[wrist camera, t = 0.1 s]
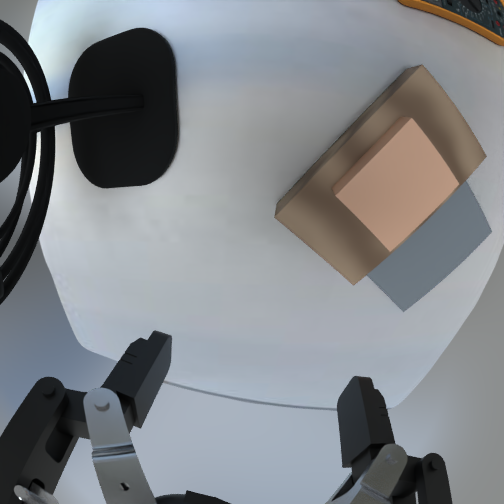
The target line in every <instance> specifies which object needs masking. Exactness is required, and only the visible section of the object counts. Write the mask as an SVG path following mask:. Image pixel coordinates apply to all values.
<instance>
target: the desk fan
mask: <svg viewBox="0 0 504 504" xmlns="http://www.w3.org/2000/svg"><path fill="white" fill-rule="evenodd" d="M0 43H1V44H3V45H4V46H5V47H6V48H8V49H9V50H10V51H11V52H12V53H13V54H14V56H16V58H17V59H18V61H19V62H20V63H21V65H22V66H23V68H24V70H25V72H26V74H27V76H28V78H29V80H30V83H31V85H32V88H33V91H34V94H35V98H36V102H37V103H33V100H32V97H31V93H30V90H29V88H28V85H27V83H26V81H25V79H24V77H23V75H22V74H21V72H20V70H19V69H18V68H17V66H16V65H15V64H14V63H13V62H12V61H11V60H10V59H9V58H8V57H7V56H6V55H4V54H3V53H1V52H0V182H2V181H3V180H4V179H5V178H6V177H8V175H9V174H10V173H11V172H12V171H13V170H14V169H15V167H16V166H17V164H18V163H19V161H20V159H21V157H22V161H21V162H22V163H21V174H20V181H19V187H18V192H17V197H16V201H15V204H14V206H13V208H12V210H11V212H10V214H9V215H8V217H7V219H6V220H5V222H4V223H3V225H2V226H1V227H0V239H1V240H0V257H1V256H2V254H3V252H4V251H5V249H6V247H7V245H8V243H9V241H10V239H11V237H12V235H13V232H14V230H15V227H16V225H17V222H18V219H19V216H20V213H21V210H22V206H23V202H24V199H25V196H26V193H27V191H28V188H29V184H30V181H31V177H32V173H33V168H34V162H35V155H36V142H37V132H40V131H41V155H40V167H39V175H38V181H37V186H36V191H35V195H34V199H33V202H32V206H31V209H30V212H29V215H28V218H27V221H26V223H25V226H24V228H23V230H22V233H21V235H20V237H19V239H18V241H17V243H16V245H15V246H14V248H13V250H12V251H11V253H10V255H9V256H8V258H7V259H6V261H5V262H4V263H3V265H2V266H1V267H0V304H1V303H2V302H3V301H4V300H5V299H6V297H7V296H8V295H9V294H10V292H11V291H12V289H13V288H14V286H15V285H16V283H17V282H18V280H19V279H20V277H21V275H22V274H23V272H24V270H25V268H26V266H27V264H28V262H29V260H30V258H31V256H32V253H33V251H34V249H35V247H36V244H37V241H38V239H39V236H40V233H41V230H42V227H43V224H44V220H45V217H46V213H47V209H48V205H49V200H50V195H51V189H52V183H53V175H54V164H55V126H56V125H59V124H63V123H68V122H70V127H71V137H72V145H73V151H74V155H75V158H76V161H77V164H78V166H79V168H80V170H81V172H82V173H83V174H84V176H85V177H86V178H87V179H88V180H89V181H90V182H91V183H92V184H94V185H95V186H98V187H100V188H117V187H130V186H142V185H147V184H150V183H152V182H153V181H155V180H157V179H158V178H159V177H161V176H162V175H163V174H164V172H165V171H166V170H167V168H168V167H169V165H170V163H171V161H172V159H173V156H174V153H175V149H176V144H177V135H178V126H177V110H176V90H175V66H174V59H173V54H172V51H171V49H170V47H169V45H168V43H167V42H166V40H165V39H164V38H163V37H162V36H161V35H160V34H158V33H157V32H155V31H153V30H150V29H147V28H135V29H131V30H128V31H125V32H122V33H120V34H117V35H114V36H112V37H109V38H107V39H104V40H102V41H99V42H97V43H95V44H93V45H91V46H90V47H89V48H87V49H86V50H85V51H84V52H83V54H82V55H81V56H80V58H79V59H78V61H77V63H76V64H75V67H74V69H73V71H72V74H71V78H70V83H69V91H68V98H66V99H58V100H51V97H50V92H49V88H48V85H47V82H46V78H45V76H44V73H43V70H42V68H41V65H40V63H39V61H38V59H37V57H36V55H35V54H34V52H33V50H32V49H31V47H30V46H29V44H28V43H27V42H26V40H25V39H24V38H23V37H22V36H21V35H20V34H19V33H18V32H17V31H16V30H14V28H12V27H11V26H10V25H8V24H7V23H5V22H4V21H2V20H0ZM10 271H11V272H10ZM8 274H9V275H8ZM7 275H8V276H7ZM6 276H7V278H6ZM5 278H6V279H5ZM4 279H5V281H4V282H3V280H4Z"/></svg>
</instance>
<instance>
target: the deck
mask: <svg viewBox="0 0 504 504" xmlns="http://www.w3.org/2000/svg"><path fill="white" fill-rule="evenodd" d="M400 117H410V118H412V119H413V120H414V121H415V122H416V123H417V125H418V126H419V127H420V128H421V130H422V131H423V132H424V133H425V135H426V136H427V137H428V139H429V140H430V141H431V143H432V144H433V145H434V147H435V148H436V150H437V151H438V152H439V154H440V155H441V157H442V158H443V160H444V161H445V162H446V164H447V165H448V167H449V168H450V170H451V172H452V173H453V175H454V176H455V178H456V179H457V181H458V183H459V185H458V186H457V187H456V188H455V189H454V191H453V192H452V193H451V194H450V195H449V196H448V197H447V198H446V199H445V200H444V201H443V202H442V203H441V204H440V205H439V206H438V207H437V208H436V209H435V210H434V211H433V212H432V213H431V214H430V215H429V216H428V217H427V218H426V219H425V220H424V221H423V222H422V223H421V224H420V225H419V226H418V227H417V228H416V229H415V230H413V231H412V232H411V233H410V234H409V235H408V236H407V237H406V238H405V239H404V240H403V241H402V242H401V243H399V244H398V245H397V246H396V247H395V248H394V249H393V250H392V251H391V252H390V251H389V250H388V249H387V248H386V247H385V246H384V245H383V244H382V243H381V242H380V240H379V239H378V238H377V237H376V236H375V235H374V234H373V233H372V232H371V231H370V230H369V229H368V228H367V227H366V226H365V225H364V224H363V223H362V222H361V221H360V220H359V219H358V218H357V217H356V216H355V215H354V213H352V212H351V211H350V210H349V209H348V208H347V207H346V206H345V205H344V204H343V203H342V202H341V201H340V200H339V199H338V198H337V197H336V196H335V194H334V192H333V190H332V187H333V186H334V185H335V184H336V183H337V182H338V181H339V180H340V179H341V178H342V177H343V176H344V175H345V174H346V173H347V172H348V171H349V170H350V169H351V168H352V167H353V166H354V165H355V164H356V163H357V162H358V160H359V159H360V158H361V157H362V156H363V155H364V154H365V153H366V152H367V151H368V150H369V149H370V148H371V147H372V146H373V145H374V144H375V143H376V142H377V141H378V140H379V139H380V138H381V137H382V136H383V135H384V134H385V133H386V132H387V131H388V130H389V129H390V128H391V127H392V126H393V125H394V124H395V122H396V121H397V120H398V119H399V118H400ZM486 157H487V156H486V154H485V153H484V151H483V149H482V147H481V145H480V144H479V142H478V140H477V138H476V137H475V135H474V133H473V132H472V130H471V129H470V127H469V125H468V124H467V122H466V121H465V119H464V118H463V116H462V115H461V113H460V112H459V110H458V109H457V107H456V106H455V105H454V103H453V102H452V100H451V99H450V98H449V96H448V95H447V94H446V92H445V91H444V90H443V88H442V87H441V86H440V85H439V83H438V82H437V81H436V80H435V79H434V77H433V76H432V75H431V74H430V73H429V71H428V70H427V69H426V68H425V67H424V66H423V65H418V66H415V67H411V68H408V69H406V70H405V71H404V72H403V73H402V74H401V75H400V76H399V77H398V78H397V79H396V80H395V81H394V82H393V83H392V84H391V85H390V86H389V87H388V88H387V89H386V90H385V91H384V92H383V93H382V94H381V95H380V97H379V98H378V99H377V100H376V101H375V102H374V103H373V104H372V105H371V106H370V107H369V108H368V109H367V110H366V111H365V112H364V113H363V114H362V115H361V116H360V117H359V118H358V119H357V120H356V121H355V122H354V123H353V124H352V125H351V126H350V127H349V128H348V129H347V130H346V131H345V133H344V134H343V135H342V136H341V137H340V138H339V139H338V140H337V141H336V142H335V143H334V144H333V145H332V146H331V147H330V148H329V149H328V150H327V151H326V152H325V153H324V154H323V155H322V157H321V158H320V159H319V160H318V161H317V162H316V163H315V164H314V165H313V166H312V167H311V168H310V169H309V170H308V171H307V172H306V173H305V174H304V176H303V177H302V178H301V179H300V180H299V181H298V182H297V183H296V184H295V185H294V186H293V187H292V188H291V189H290V190H289V191H288V193H287V194H286V195H285V196H284V197H283V198H282V199H281V200H280V201H279V202H278V203H277V205H276V211H275V217H274V218H276V219H277V220H278V221H279V222H280V223H282V224H283V225H284V226H285V227H286V228H288V229H289V230H290V231H291V232H292V233H294V234H295V235H296V236H297V237H298V238H300V239H301V240H302V241H303V242H304V243H305V244H307V245H308V246H309V247H310V248H311V249H313V250H314V251H315V252H316V253H317V254H318V255H319V256H321V257H322V258H323V259H324V260H325V261H326V262H328V263H329V264H330V265H331V266H332V267H333V268H334V269H336V270H337V271H338V272H339V273H340V274H341V275H342V276H344V277H345V278H346V279H347V280H348V281H349V282H350V283H351V284H352V285H355V284H356V283H357V282H359V281H360V280H361V279H362V278H364V277H365V276H366V275H367V274H368V273H370V272H371V271H372V270H373V269H374V268H375V267H377V266H378V265H379V264H380V263H381V262H382V261H384V260H385V259H386V258H387V257H388V256H389V255H390V254H392V253H393V252H394V251H395V250H396V249H397V248H398V247H399V246H401V245H402V244H403V243H404V242H405V241H406V240H407V239H408V238H409V237H410V236H411V235H412V234H414V233H415V232H416V231H417V230H418V229H419V228H420V227H421V226H422V225H423V224H424V223H425V222H426V221H427V220H428V219H429V218H430V217H431V216H432V215H433V214H434V213H435V212H436V211H437V210H438V209H439V208H440V207H441V206H442V205H443V204H444V203H445V202H446V201H447V200H448V199H449V198H450V197H451V196H452V195H453V194H454V193H455V192H456V191H457V189H458V188H459V187H460V186H461V185H462V184H463V183H464V182H465V181H466V180H467V179H468V177H469V176H470V175H471V174H472V173H473V172H474V171H475V170H476V168H477V167H478V166H479V165H480V164H481V163H482V161H483V160H484V159H485V158H486Z"/></svg>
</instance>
